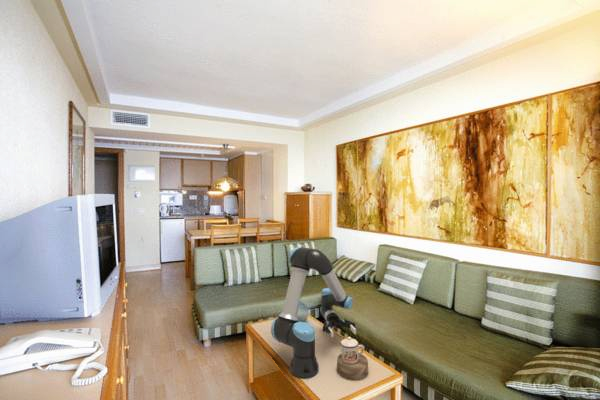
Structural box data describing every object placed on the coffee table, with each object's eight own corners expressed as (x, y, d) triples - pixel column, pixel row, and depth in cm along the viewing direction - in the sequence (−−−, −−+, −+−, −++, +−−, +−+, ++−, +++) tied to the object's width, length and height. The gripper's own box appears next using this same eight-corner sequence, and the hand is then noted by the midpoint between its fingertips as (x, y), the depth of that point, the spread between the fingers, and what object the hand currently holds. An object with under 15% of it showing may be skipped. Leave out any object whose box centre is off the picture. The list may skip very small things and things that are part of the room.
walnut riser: (359, 385, 140) (359, 372, 140) (331, 373, 150) (331, 361, 150) (373, 369, 153) (372, 358, 153) (346, 359, 163) (346, 348, 163)
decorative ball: (312, 322, 212) (312, 301, 212) (299, 329, 201) (299, 307, 201) (297, 316, 222) (297, 297, 222) (283, 323, 211) (283, 303, 210)
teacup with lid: (343, 364, 147) (342, 341, 147) (340, 355, 156) (339, 334, 156) (366, 363, 147) (365, 340, 147) (362, 354, 156) (361, 332, 156)
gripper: (350, 321, 186) (364, 337, 165) (313, 326, 181) (323, 342, 160) (350, 310, 186) (364, 324, 165) (312, 314, 181) (322, 329, 160)
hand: (344, 333), depth 163 cm, fingers open, 13 cm apart
